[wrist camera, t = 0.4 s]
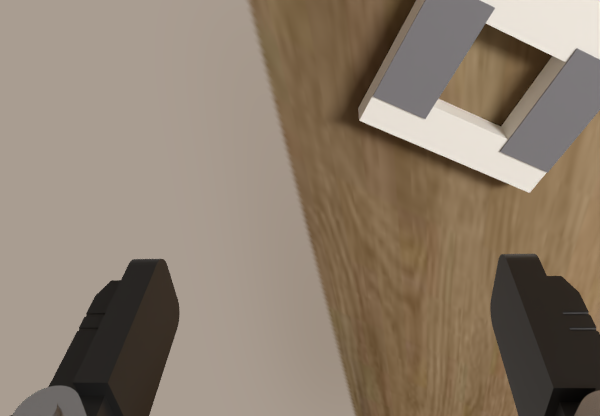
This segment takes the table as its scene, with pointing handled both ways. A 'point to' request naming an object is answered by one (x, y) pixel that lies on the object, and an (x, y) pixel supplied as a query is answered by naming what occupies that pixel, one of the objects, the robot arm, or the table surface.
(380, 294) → the table surface
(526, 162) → the subfloor panel
